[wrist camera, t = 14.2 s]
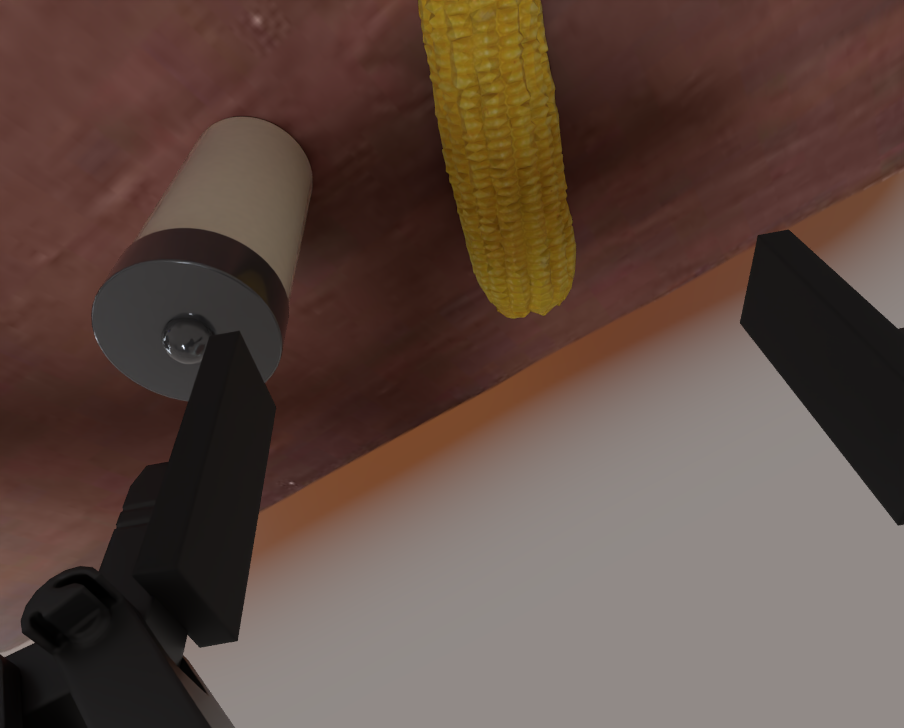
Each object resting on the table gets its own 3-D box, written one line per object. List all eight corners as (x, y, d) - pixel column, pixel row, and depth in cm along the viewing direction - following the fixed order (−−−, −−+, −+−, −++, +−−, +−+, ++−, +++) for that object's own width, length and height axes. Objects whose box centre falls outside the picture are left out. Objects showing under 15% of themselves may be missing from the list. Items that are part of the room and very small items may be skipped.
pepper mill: (218, 239, 33) (137, 433, 22) (168, 126, 29) (38, 295, 18) (329, 219, 33) (302, 405, 22) (293, 103, 29) (239, 259, 18)
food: (568, 259, 36) (595, 318, 32) (477, 283, 37) (490, 344, 32) (502, -212, 23) (531, -227, 18) (358, -164, 23) (352, -166, 19)
